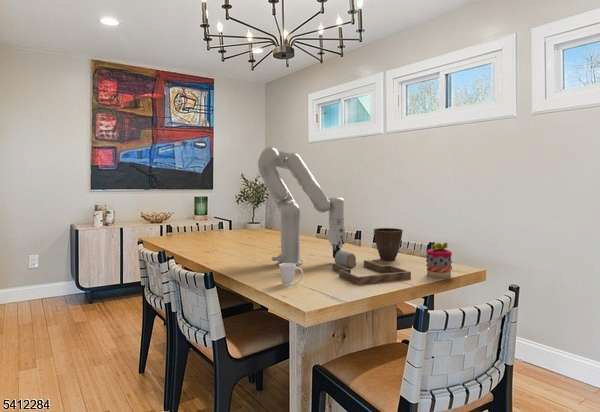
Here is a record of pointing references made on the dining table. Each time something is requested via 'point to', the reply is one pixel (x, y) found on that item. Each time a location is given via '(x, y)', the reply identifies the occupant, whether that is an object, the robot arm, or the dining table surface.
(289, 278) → the cup
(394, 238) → the plant pot
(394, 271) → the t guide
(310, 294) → the dining table surface
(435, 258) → the cake
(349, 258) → the ceramic mug
